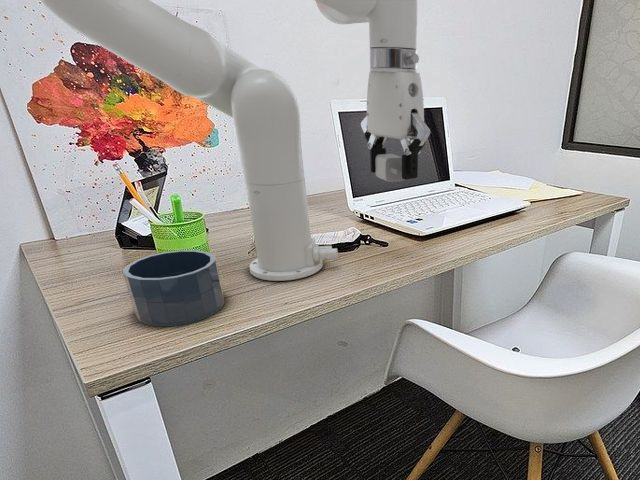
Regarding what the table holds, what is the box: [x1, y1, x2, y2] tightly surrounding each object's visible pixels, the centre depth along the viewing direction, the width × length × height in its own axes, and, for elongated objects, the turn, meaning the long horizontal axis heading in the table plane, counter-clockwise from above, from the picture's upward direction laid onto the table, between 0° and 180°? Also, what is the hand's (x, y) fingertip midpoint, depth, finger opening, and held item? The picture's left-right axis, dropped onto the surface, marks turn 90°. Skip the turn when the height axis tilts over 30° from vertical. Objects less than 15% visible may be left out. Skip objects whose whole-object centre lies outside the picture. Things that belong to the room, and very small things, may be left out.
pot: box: [122, 249, 225, 328], centre depth 69 cm, size 12×12×7 cm
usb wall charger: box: [374, 153, 406, 183], centre depth 83 cm, size 4×7×4 cm, turn 28°
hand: (393, 174), depth 84 cm, fingers closed on usb wall charger, 7 cm apart
